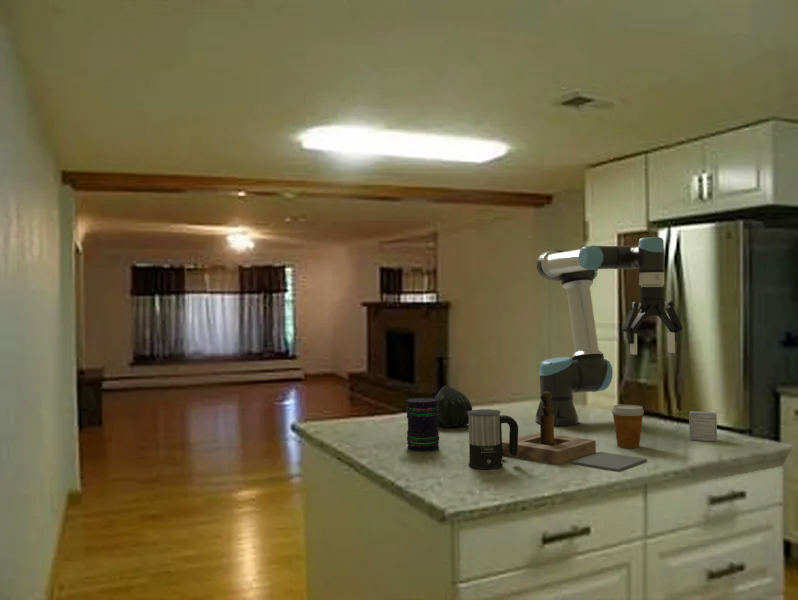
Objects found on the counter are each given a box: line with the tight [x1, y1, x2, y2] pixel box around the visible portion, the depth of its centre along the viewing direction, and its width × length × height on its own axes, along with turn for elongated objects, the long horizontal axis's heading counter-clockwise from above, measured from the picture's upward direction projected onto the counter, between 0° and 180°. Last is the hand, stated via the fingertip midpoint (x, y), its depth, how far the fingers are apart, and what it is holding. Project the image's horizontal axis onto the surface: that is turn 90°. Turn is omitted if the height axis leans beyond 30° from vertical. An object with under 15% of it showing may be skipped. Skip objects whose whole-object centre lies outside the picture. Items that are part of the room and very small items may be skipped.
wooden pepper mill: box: [538, 391, 557, 446], centre depth 207 cm, size 7×6×18 cm
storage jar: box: [405, 397, 440, 453], centre depth 216 cm, size 10×10×15 cm
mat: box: [570, 451, 647, 472], centre depth 194 cm, size 14×16×1 cm
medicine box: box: [688, 410, 718, 443], centre depth 223 cm, size 8×4×9 cm, turn 65°
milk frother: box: [467, 408, 519, 470], centre depth 197 cm, size 14×16×15 cm
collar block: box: [502, 431, 597, 465], centre depth 207 cm, size 20×20×4 cm
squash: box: [434, 385, 473, 429], centre depth 255 cm, size 14×15×15 cm
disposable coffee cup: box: [610, 404, 645, 449], centre depth 215 cm, size 10×10×12 cm
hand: (652, 353), depth 224 cm, fingers open, 13 cm apart
